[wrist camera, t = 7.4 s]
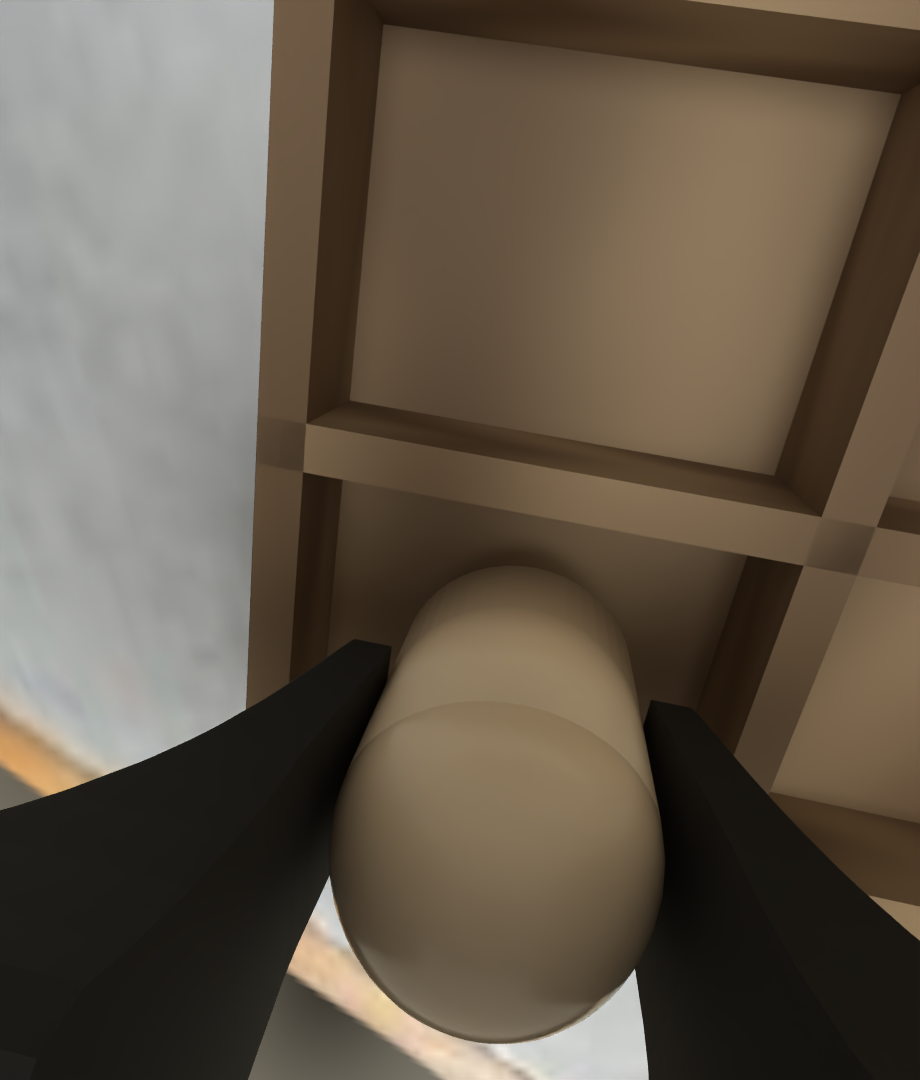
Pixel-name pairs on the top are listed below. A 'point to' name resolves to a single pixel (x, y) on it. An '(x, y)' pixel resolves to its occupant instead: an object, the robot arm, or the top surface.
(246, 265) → the top surface
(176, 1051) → the robot arm
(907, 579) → the crate
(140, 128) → the top surface
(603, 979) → the cylinder
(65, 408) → the top surface
